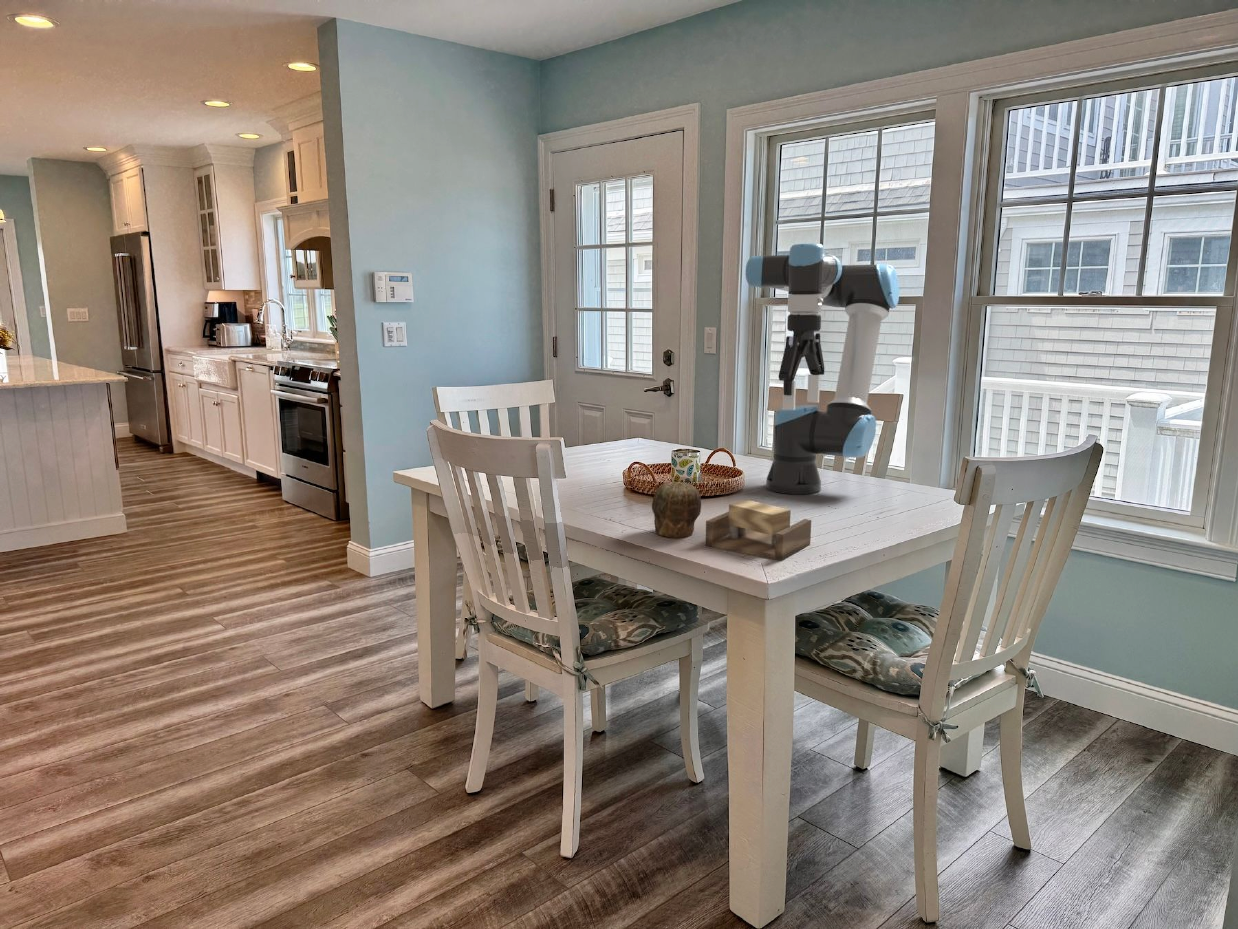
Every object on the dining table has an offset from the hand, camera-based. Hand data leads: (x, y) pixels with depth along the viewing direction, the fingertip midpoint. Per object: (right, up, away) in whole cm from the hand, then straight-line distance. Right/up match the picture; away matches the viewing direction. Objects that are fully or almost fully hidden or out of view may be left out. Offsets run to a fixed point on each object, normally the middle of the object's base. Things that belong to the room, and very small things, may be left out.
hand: (801, 405), depth 195 cm
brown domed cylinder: (-30, -30, -6) cm, 42 cm away
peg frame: (-13, -31, -15) cm, 37 cm away
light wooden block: (-13, -27, -15) cm, 34 cm away
